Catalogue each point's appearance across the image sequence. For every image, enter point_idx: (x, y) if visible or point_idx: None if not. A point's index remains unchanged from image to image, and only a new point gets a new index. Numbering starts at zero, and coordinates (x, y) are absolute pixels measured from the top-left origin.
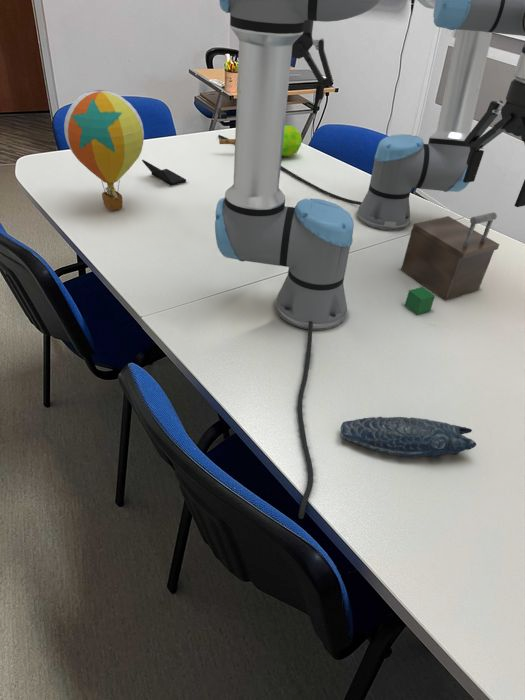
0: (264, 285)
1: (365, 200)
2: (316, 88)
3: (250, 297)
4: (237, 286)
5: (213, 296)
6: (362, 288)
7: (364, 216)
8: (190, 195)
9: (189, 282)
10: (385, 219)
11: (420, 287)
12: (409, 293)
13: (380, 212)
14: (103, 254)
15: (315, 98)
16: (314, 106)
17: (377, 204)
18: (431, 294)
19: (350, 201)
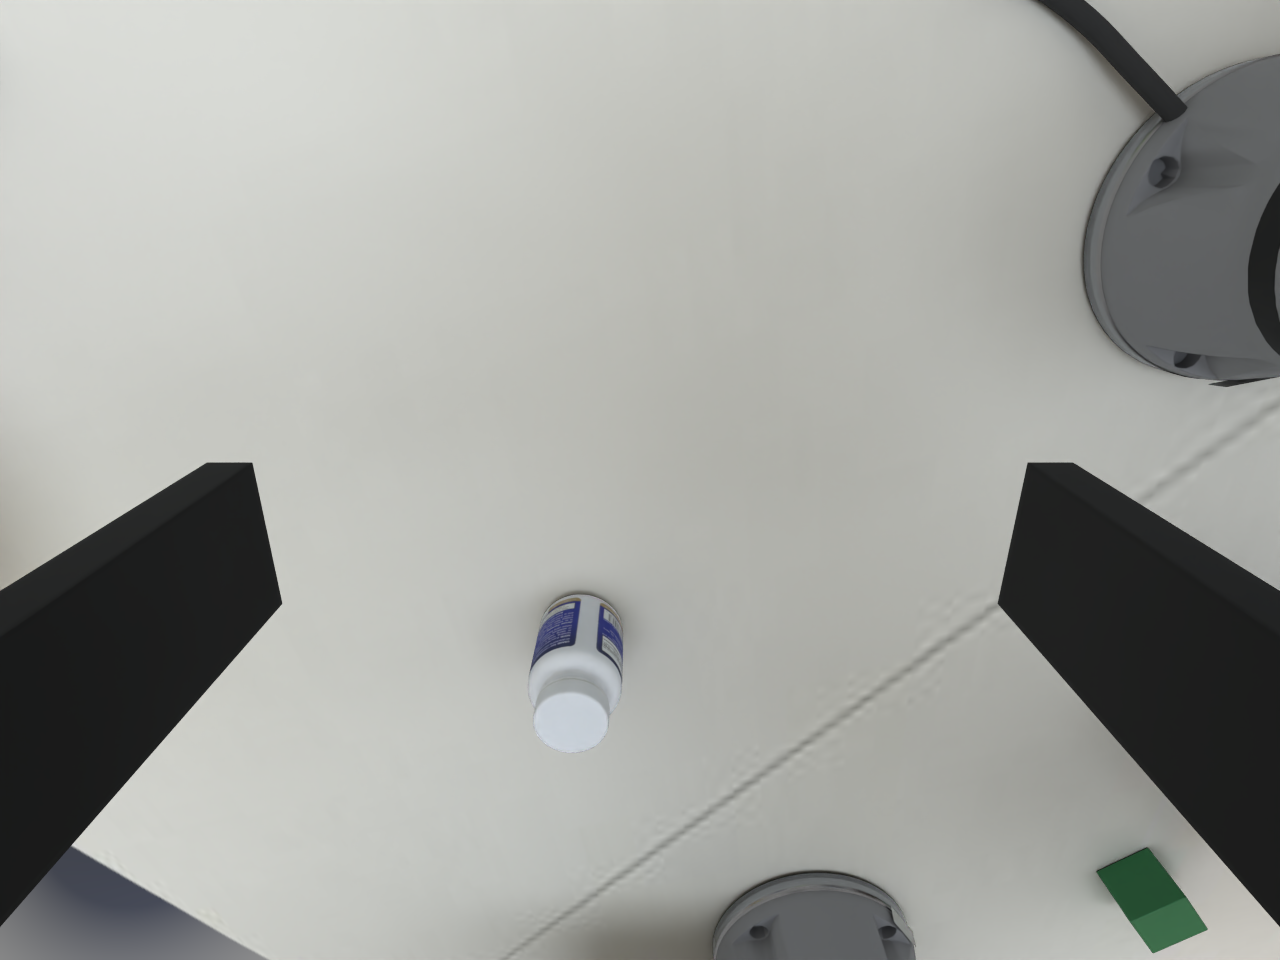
0: (667, 871)
1: (1181, 273)
2: (1271, 904)
3: (637, 926)
4: (589, 891)
5: (536, 941)
6: (980, 822)
7: (1124, 328)
8: (114, 246)
9: (447, 903)
10: (1236, 379)
11: (1176, 903)
12: (1126, 916)
13: (1231, 359)
14: (123, 837)
15: (1134, 747)
16: (1058, 660)
17: (1240, 356)
18: (1198, 927)
19: (1089, 37)
